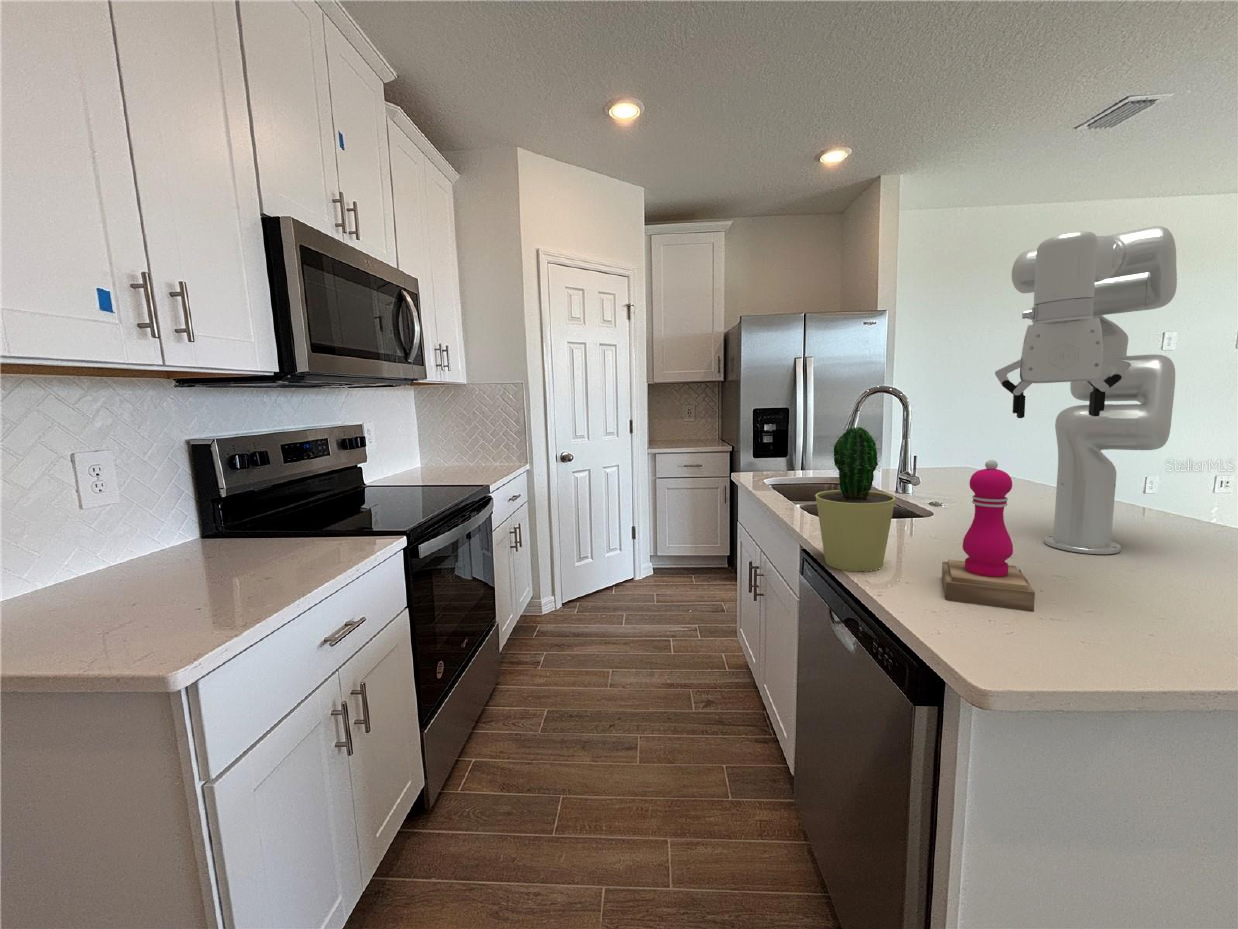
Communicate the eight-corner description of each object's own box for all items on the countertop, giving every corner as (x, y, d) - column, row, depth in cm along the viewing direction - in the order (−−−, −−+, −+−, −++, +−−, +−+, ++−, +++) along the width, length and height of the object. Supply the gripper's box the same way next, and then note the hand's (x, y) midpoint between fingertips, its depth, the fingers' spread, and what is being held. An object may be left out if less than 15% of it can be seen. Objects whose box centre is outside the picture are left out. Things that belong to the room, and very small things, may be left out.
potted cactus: (853, 549, 118) (855, 421, 114) (911, 568, 104) (915, 423, 100) (799, 558, 113) (799, 425, 109) (852, 580, 99) (855, 427, 95)
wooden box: (941, 577, 98) (942, 557, 97) (1019, 586, 92) (1020, 565, 92) (946, 599, 88) (946, 577, 87) (1033, 611, 82) (1035, 587, 81)
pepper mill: (996, 581, 85) (1003, 463, 82) (952, 569, 91) (957, 459, 89) (1020, 573, 88) (1027, 459, 85) (976, 562, 94) (981, 456, 92)
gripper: (1000, 318, 85) (995, 419, 87) (1142, 303, 76) (1133, 416, 78) (994, 322, 91) (990, 416, 93) (1126, 308, 82) (1118, 413, 85)
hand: (1056, 416), depth 86 cm, fingers open, 9 cm apart
